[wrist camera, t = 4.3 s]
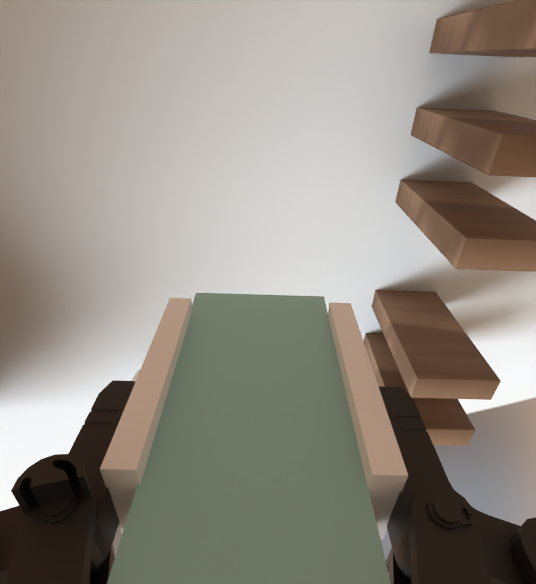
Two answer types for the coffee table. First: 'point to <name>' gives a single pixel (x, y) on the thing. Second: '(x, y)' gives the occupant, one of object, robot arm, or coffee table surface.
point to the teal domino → (253, 458)
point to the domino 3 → (470, 225)
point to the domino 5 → (434, 411)
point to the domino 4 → (432, 347)
